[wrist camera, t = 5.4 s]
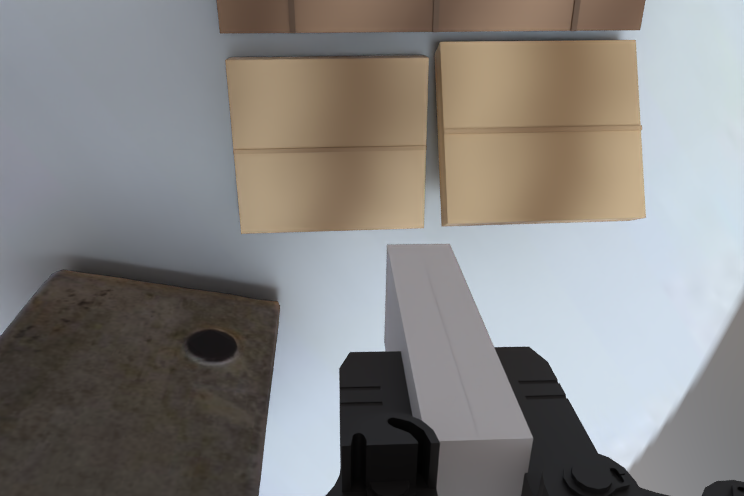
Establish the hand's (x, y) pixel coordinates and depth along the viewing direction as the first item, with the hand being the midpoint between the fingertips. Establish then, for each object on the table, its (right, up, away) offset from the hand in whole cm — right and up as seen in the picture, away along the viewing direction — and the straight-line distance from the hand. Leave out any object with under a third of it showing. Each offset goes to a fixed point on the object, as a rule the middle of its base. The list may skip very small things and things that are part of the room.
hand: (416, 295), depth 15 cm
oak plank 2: (+5, +5, +8) cm, 11 cm away
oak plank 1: (-3, +5, +9) cm, 11 cm away
